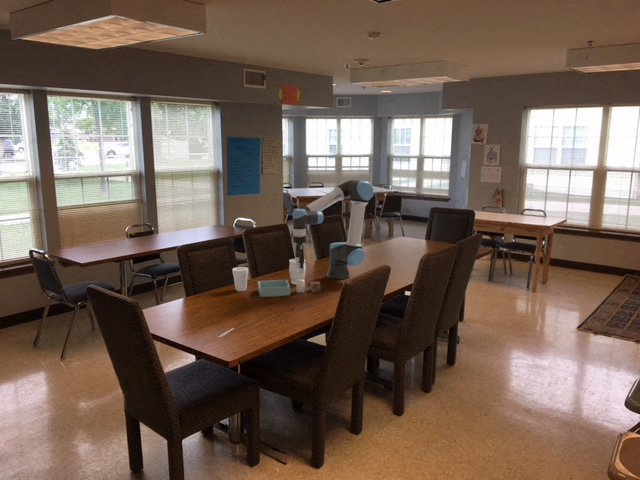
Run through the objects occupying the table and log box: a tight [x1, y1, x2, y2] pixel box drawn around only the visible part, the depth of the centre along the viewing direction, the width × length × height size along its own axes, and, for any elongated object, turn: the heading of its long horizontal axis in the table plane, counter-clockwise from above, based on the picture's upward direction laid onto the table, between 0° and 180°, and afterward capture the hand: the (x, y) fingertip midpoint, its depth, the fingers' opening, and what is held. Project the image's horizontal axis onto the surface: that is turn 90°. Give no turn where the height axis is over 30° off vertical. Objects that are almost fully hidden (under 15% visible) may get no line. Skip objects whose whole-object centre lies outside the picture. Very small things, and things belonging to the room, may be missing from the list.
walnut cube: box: [310, 281, 321, 293], centre depth 306 cm, size 5×5×5 cm
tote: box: [257, 279, 291, 298], centre depth 302 cm, size 18×16×6 cm
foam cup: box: [232, 266, 249, 292], centre depth 308 cm, size 10×9×13 cm
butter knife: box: [217, 327, 235, 338], centre depth 246 cm, size 1×27×3 cm
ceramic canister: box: [296, 278, 306, 294], centre depth 305 cm, size 5×5×7 cm
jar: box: [288, 258, 307, 285], centre depth 322 cm, size 11×10×15 cm
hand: (299, 270), depth 303 cm, fingers open, 13 cm apart
